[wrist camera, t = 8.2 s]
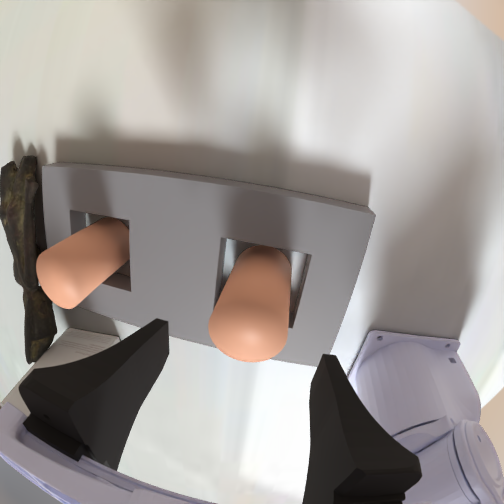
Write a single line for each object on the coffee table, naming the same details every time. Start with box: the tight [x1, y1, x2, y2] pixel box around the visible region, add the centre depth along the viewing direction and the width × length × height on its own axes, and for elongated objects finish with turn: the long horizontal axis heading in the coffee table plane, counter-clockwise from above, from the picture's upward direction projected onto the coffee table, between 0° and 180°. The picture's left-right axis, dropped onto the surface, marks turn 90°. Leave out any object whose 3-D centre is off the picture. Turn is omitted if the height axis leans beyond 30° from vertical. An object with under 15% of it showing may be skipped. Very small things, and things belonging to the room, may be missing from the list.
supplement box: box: [1, 328, 120, 417], centre depth 22 cm, size 7×7×13 cm
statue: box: [0, 156, 57, 365], centre depth 22 cm, size 6×6×20 cm
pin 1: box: [36, 217, 130, 309], centre depth 19 cm, size 4×4×7 cm
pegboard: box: [42, 162, 376, 367], centre depth 20 cm, size 24×12×2 cm, turn 82°
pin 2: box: [208, 245, 291, 362], centre depth 18 cm, size 4×4×7 cm
